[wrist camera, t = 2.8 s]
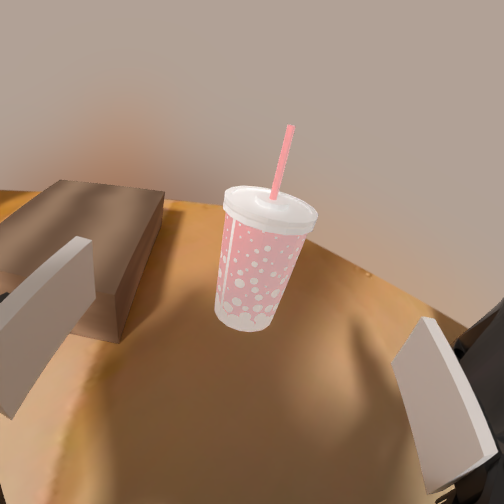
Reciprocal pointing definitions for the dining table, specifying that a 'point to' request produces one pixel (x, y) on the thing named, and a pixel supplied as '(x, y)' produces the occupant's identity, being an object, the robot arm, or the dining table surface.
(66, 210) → the walnut pedestal
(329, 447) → the dining table surface
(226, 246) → the beverage cup
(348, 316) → the dining table surface
